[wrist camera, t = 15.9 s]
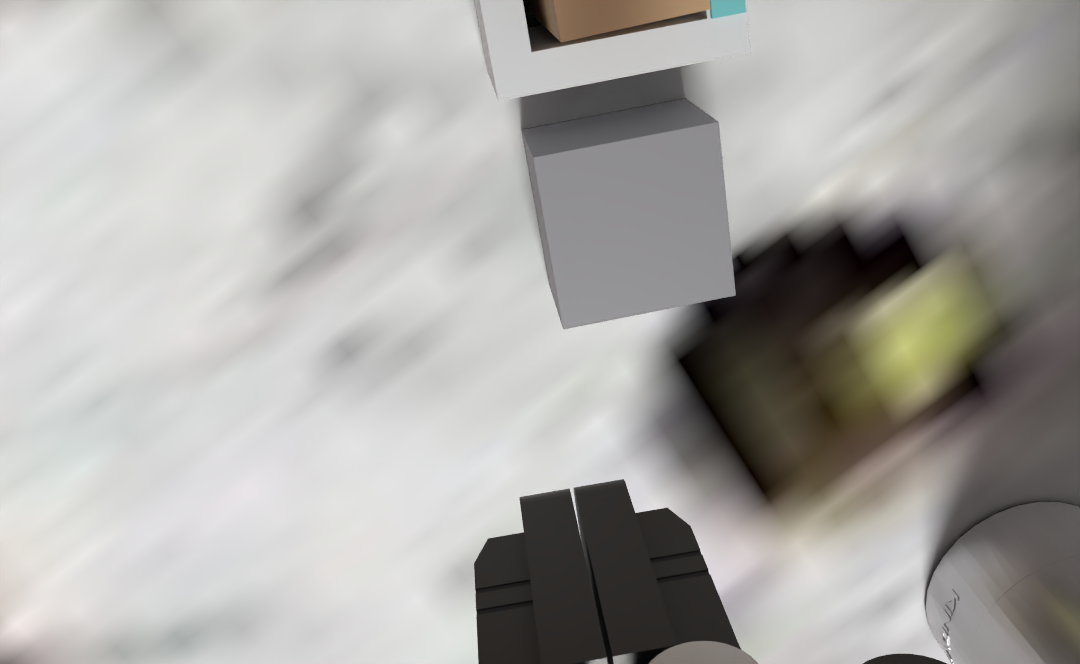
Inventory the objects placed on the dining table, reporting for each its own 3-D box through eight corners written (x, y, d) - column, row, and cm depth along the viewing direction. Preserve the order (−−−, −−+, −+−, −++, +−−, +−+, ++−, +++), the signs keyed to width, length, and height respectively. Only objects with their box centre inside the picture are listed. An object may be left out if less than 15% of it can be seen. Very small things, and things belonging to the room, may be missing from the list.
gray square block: (685, 98, 36) (718, 121, 32) (702, 254, 38) (735, 295, 34) (521, 129, 36) (533, 157, 31) (549, 284, 38) (563, 329, 34)
